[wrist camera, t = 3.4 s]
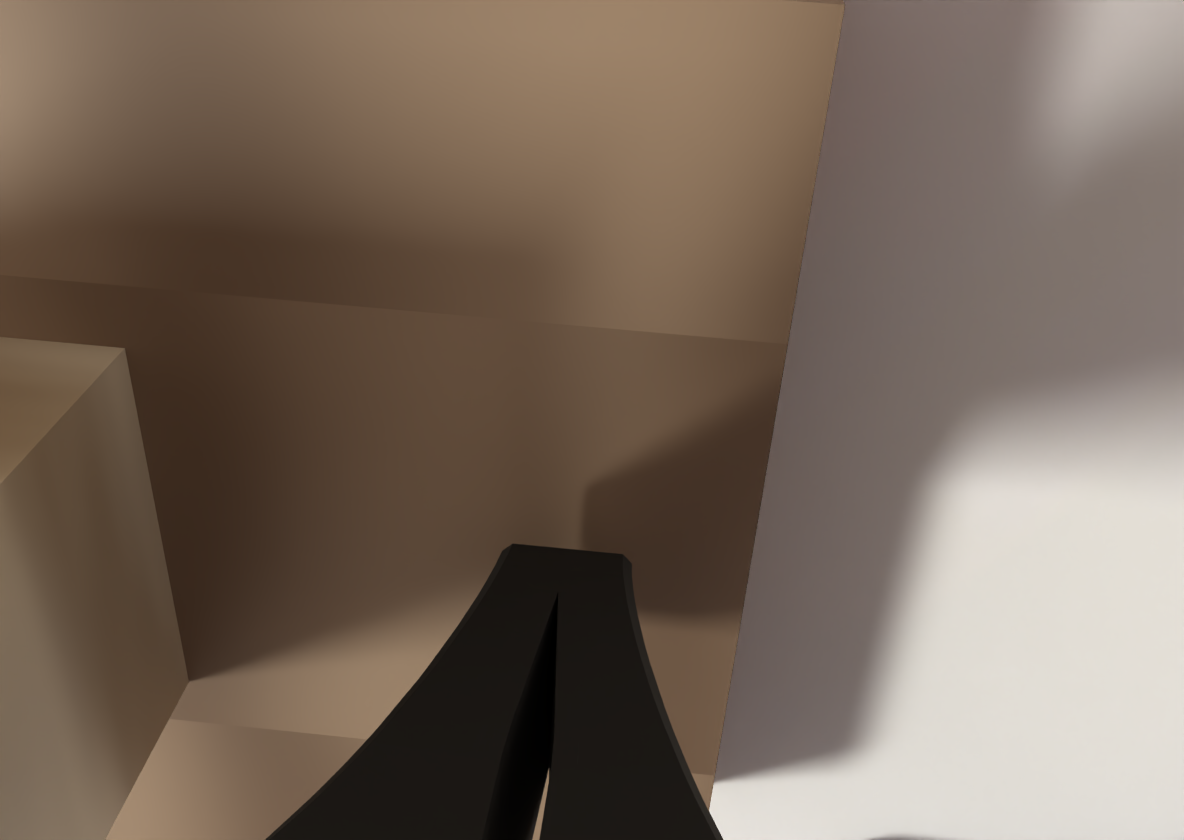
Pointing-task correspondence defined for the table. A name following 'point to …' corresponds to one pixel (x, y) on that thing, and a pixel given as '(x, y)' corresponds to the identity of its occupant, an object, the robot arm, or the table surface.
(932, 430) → the table surface
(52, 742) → the maple block
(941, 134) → the table surface
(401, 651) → the trap board
